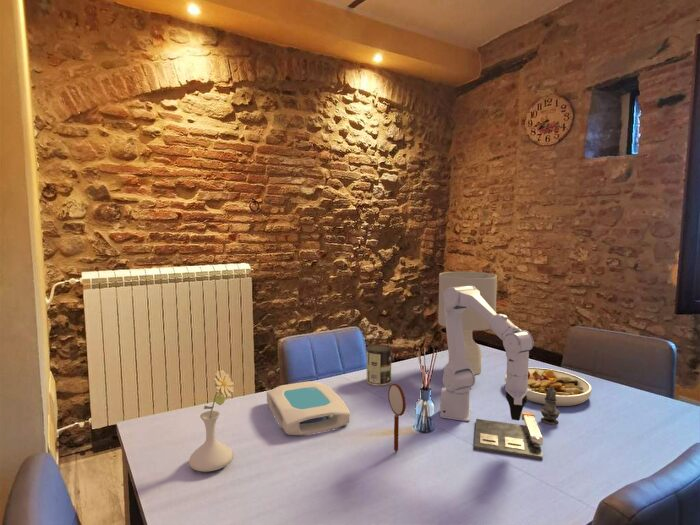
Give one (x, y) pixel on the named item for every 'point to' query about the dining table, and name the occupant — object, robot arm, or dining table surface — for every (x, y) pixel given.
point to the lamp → (469, 308)
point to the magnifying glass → (396, 408)
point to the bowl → (557, 386)
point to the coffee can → (379, 365)
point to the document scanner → (307, 408)
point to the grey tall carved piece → (550, 408)
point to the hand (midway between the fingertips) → (515, 419)
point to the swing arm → (532, 428)
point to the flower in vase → (213, 432)
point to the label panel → (505, 439)
